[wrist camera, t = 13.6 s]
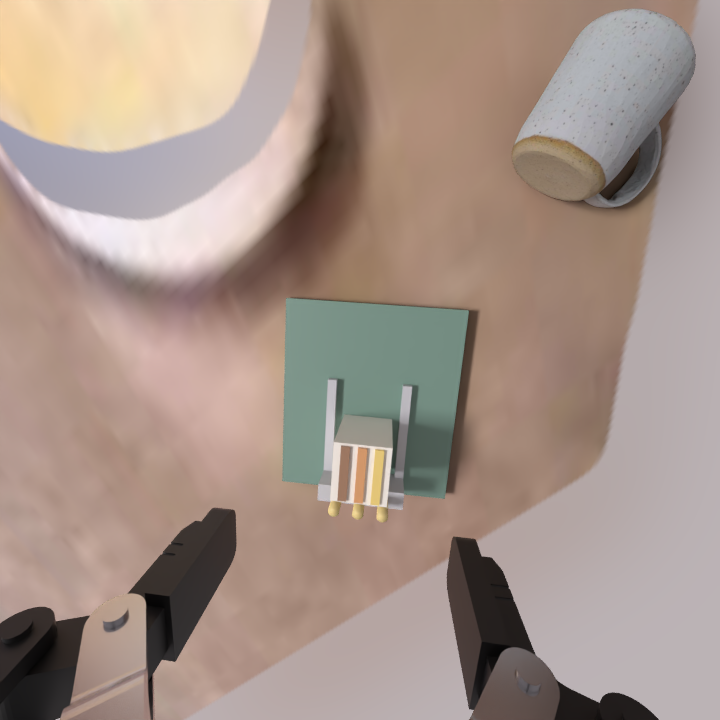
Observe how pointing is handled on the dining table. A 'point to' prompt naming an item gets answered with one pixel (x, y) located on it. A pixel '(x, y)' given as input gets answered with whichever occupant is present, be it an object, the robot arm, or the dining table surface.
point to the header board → (372, 390)
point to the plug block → (362, 461)
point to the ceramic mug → (605, 108)
